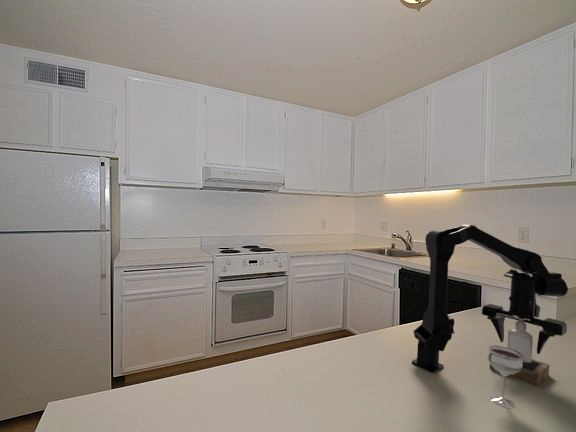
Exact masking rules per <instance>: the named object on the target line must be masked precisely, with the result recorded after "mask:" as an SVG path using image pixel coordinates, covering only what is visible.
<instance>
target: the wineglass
mask: <svg viewBox="0 0 576 432" xmlns="http://www.w3.org/2000/svg"><path fill="white" fill-rule="evenodd" d="M487 348H488V350H489V351H488V353H487V360H488V362H489V365H490V364H491V365H492V366H493V368H494V369H495V371H496V370H497V371H496V372H499V374H500V375H501V396H500V395H498V394H497V395H494V394H493V395H490V396H489V398H490V400H491V402H493V403H494V404H495V405H498V406H500V407H502V408H506V409H514V408H516V406H517V405H516V404H515V403H514V402H513V401H512V400H511V399H508V398H507V397H505V389H506V388H505V387H506V379H507V376H509V375H514V374H516V373H518V372H520V371H521V369H522V366H523V363H522V360H521V358H522V357H523V355H522V354H521V353H519V352H518V351H516V350H513V349H510V348H507V346H502V345H494V344H492V345H489V346H488V347H487ZM494 369H493V370H494Z"/></svg>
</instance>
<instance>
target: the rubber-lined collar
mask: <svg viewBox="0 0 576 432" xmlns="http://www.w3.org/2000/svg"><path fill="white" fill-rule="evenodd" d="M522 363H523V366H522V369H521V371H520V372H518V373H516V374H514V375H508V376H510V377H512V378H514V379H517V380H520V381H522V382H525V383H527V384H530V385H532V386H535V387H538V386H539V385H540V384H541V383H542V382H543V381H544V380H546V379H547V377H549V375H550V364H549V363H545V362H541V361H539V360H536V359H533V358H532V361H531V363H526V362H522ZM489 369H492V370H495V369H494V368H493V366H492V365H491V364H490V363H489ZM495 371H496V372H498V371H497V370H495Z"/></svg>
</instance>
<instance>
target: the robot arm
mask: <svg viewBox="0 0 576 432" xmlns="http://www.w3.org/2000/svg"><path fill="white" fill-rule="evenodd" d="M424 239H425V247H426V252H427V254H428V257H429V261H430V262H429V285H428V286H429V287H428V307H427V309H426V311H425V312H424V313H423V317H422V320H421V321H422V322H421V324H420V325H418V327H417V328H415V329H414V330H413V335H414V339H416V340H417V354H416V358H415V359H413V360H411V363H412V364H414V365H415V366H417V367H420V368H422V369H424V370H426V371H428V372H430V373H436V372H437V371H438V370H441V369H443V368H444V366H445V365H444V364H442V363H439V362H440V352H444V351H445V350H446V347H447V344H448V343H449V341H451V340H452V337H453V335H454V334H455V331H454V326H455V319H454V318H453V317H451V316H450V315H448V313H447V298H448V282H449V281H448V278H449V276H448V275H449V262H450V260H451V258H452V256H453V254H454V252H455V247H456V246H458V245H461V244H463V243H466V242H467V241H470V242H471V243H473V244H474V245H477V246H479V247H481V248H483V249H485V250H486V251H488V252H491V253H493V254H494V255H497V256H498V257H499V258H501V260H502V261H503V262H504V263H505V264H506V265H508V266H509V267H510V268H512V269H509V270H508V271H507V272H505V273H504V274H503V276H504V277H505V278H509V279H510V280H511V281H510V295H509V297H508V300H509V310H504V307H503V306H502V305H501V306H500V305H496V304H492V303H489V304H485V305H484V306H482V308H481V316H486V317H487V320H490V321H491V324H492V325H493V327H494V329H495V331H496V333H497V336H498V338H499V341H500V343H503V342H504V340H505V325H504V324H505V319H507V318H508V319H510V320H515V321H520V320H522V322H524V323H527V324H529V325H530V324H531V325H534V326H537V327H541V328H542V329H541V330H540V331H538V339H537V344H536V345H537V347H536V353H537V355H540V354H541V353H542V350H543V348H544V346H545V345H546V343H547V341H548V340H549V339H550V338H551V337H552V338H553V337H555V336H563V335H565V334H566V333H567V332H568V331H567V330H568V325H567V323H566V322H565V321H563V320H558V319H554V318H550V317H547V318H545V319H541V318H540V313H541V307H540V306H539V305H538V304H537V298H536V297H537V296H544V297H555V298H556V297H560V298H562V297H565V296H566V295H567V293H568V290H569V287H568V285H567V282H566V281H565V280H564V279H563V278H562V273H558V272H550V271H549V270H548V268H547V267H546V266H545V264H544V263H543V260H542V255H540V254H538V253H536V252H533V251H531V250H527V249H523V248H520V247H516V246H512V245H510V244H509V243H507V242H505V241H504V240H503V241H502V239H499V238H497V237H495V236H493V234H492V235H491V234H489V233H488V232H486V231H484V230H482V229H480V228H478V227H477V226H476V225H474V224H460V225H459V226H456V227H451V228H447V229H442V230H439V229H433V230H430V231H429V232H428V233H427V234H426V235H425V238H424ZM518 271H519V272H518ZM539 318H540V319H539Z"/></svg>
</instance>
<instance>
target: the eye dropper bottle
mask: <svg viewBox="0 0 576 432" xmlns="http://www.w3.org/2000/svg"><path fill="white" fill-rule="evenodd" d="M533 341H534V339H533V335H532V334H531V333H529V332H528V331H527V324H526V322H522V320H520V321H518V320H516V321H515V328H513V329H509V330H508V332H507V346H506V347H507V348H510V349H513V350H516V351H518V352H519V353H521V354H522V355H523V357H522V358H521V360H522V362H526V363H531V361H532V359H533V344H534V342H533Z"/></svg>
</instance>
